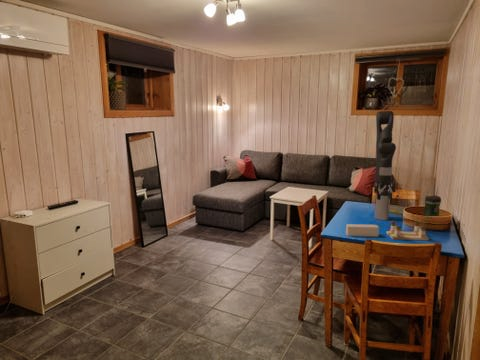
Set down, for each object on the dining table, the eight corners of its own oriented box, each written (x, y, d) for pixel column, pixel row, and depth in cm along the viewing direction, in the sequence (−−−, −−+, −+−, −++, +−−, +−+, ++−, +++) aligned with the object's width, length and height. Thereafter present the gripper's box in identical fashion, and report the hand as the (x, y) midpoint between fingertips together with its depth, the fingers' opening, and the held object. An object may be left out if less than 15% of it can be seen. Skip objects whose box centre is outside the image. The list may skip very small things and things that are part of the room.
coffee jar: (430, 225, 227) (433, 197, 223) (420, 221, 234) (422, 195, 231) (440, 223, 230) (443, 196, 227) (430, 220, 237) (433, 194, 234)
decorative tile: (408, 217, 245) (409, 212, 244) (379, 212, 257) (380, 208, 257) (415, 212, 259) (415, 207, 258) (387, 207, 272) (387, 203, 271)
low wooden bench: (386, 233, 210) (387, 220, 209) (419, 234, 209) (421, 221, 208) (393, 239, 199) (394, 226, 198) (428, 240, 198) (429, 227, 197)
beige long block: (345, 233, 211) (346, 224, 210) (375, 234, 210) (376, 224, 208) (347, 236, 206) (348, 226, 205) (378, 236, 205) (378, 227, 204)
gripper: (390, 173, 223) (389, 197, 225) (372, 174, 219) (371, 198, 221) (399, 174, 216) (397, 199, 218) (380, 175, 212) (378, 200, 214)
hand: (384, 199), depth 220 cm, fingers open, 8 cm apart
